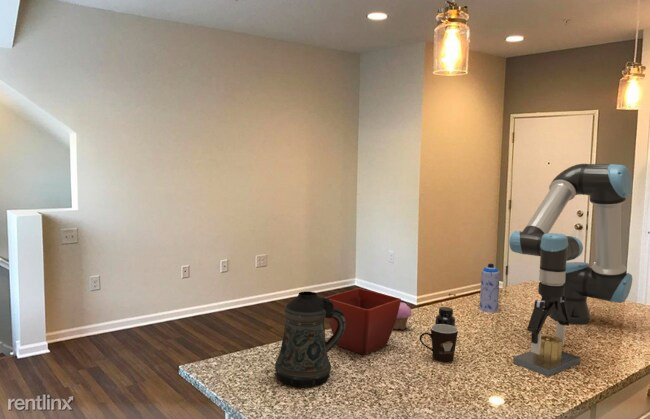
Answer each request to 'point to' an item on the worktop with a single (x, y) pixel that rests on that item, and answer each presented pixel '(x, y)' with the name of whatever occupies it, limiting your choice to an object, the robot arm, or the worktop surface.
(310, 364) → the beer stein
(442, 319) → the supplement bottle
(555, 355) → the ring
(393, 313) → the plant pot
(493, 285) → the aerosol can
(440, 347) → the coffee mug
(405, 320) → the cupcake
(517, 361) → the shaft stand
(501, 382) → the worktop surface
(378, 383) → the worktop surface
